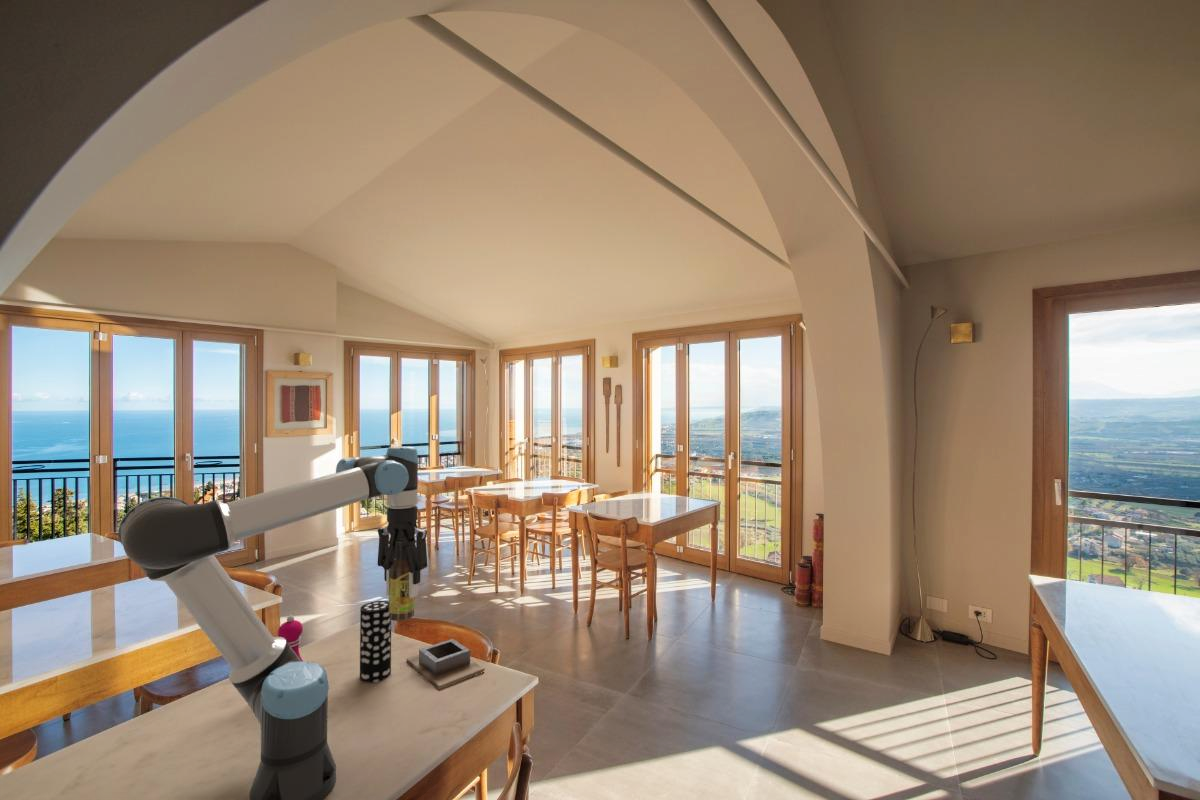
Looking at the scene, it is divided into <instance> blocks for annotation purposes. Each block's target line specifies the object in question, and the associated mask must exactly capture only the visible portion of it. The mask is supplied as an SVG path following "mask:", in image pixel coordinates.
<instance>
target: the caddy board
mask: <svg viewBox="0 0 1200 800" xmlns="http://www.w3.org/2000/svg"><path fill="white" fill-rule="evenodd" d="M406 663H407V664H409V665H410V666H411V667H412V668H413V669H414V670H416V671H417V672H418V673H419V674H421V676H423V677H424V678H425V679H426V680H427V681H429V683H431V684H432V685H433V686H435V687H436V688H437V689H438V690H442V689H444V688H447V687H450V686H452V685H454V684H457V683H460V682H462V681H465V680H467V678H468V679H470V678H472V677H471V676H473V677H475V676H477V675H476V674H478V675H480V674H479V673H481V672H483V671H484V672H485V668H484V667H482V666H481V665H480V664H478V663H477V662H476V661H474V660H472V659H471V658H470V664H468V665H466V666H463V667H460V668H457V669H455V670H452V671H449V672H447V673H444V674H441V675H438V676H436V677H435V676H434V675H433V674H432V673H431V672H429V671H428V670H427V669H426V668H424V667H423V666H422V665H421V664H420V663H419V653H418V654H415V655H413V656H409V657H406ZM484 672H483V673H484ZM481 674H482V673H481ZM474 675H475V676H474ZM469 677H470V678H469Z"/></svg>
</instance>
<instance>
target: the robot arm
mask: <svg viewBox="0 0 1200 800" xmlns="http://www.w3.org/2000/svg"><path fill="white" fill-rule="evenodd" d="M417 449H418V448H416V447H414V446H410V445H409V446H408V445H407V446H406V445H405V446H403V445H402V446H399V445H398V446H390V447H388V448H387V450H386V454H384V455H377V456H375V455H373V456H355V457H354V456H352V457H345V458H342V459H340V460H338V462H337V464H336V467H335V472H334V473H331V474H328V475H327V474H326V475H324V476H323V475H322V476H321V477H320V476H319V477H316V478H313V479H312V478H311V479H308V480H305V481H301V482H298V483H297V482H296V483H293V484H290V485H287V486H283V487H279V488H275V489H271V490H269V491H265V492H261V493H257V494H254V495H250V496H247V497H242V498H240V499H235V500H231V501H228V502H221V501H219V500H217V499H216V500H215V499H214V500H212V501H207V502H203V503H197V504H188V503H187V502H186V501H184V500H183V499H180V498H176V497H173V496H171V497H170V496H159V497H152V498H149V499H146V500H143V501H141V502H140V503H137V504H136V505H135V506H133V507H132V508H131V509H129V510H128V511H127V512H126V514H125V515H124V516H123V517H122V519H121V521H120V522H119V523H120V524H119V527H118V530H117V534H118V540H119V542H120V544H121V545H122V547H123V550H124V552H125V553H124V554H125V555H126V556H127V558H128V559H130V560H131V562H133V563H134V564H136V565H137V566H138V567H140V569H141V570H142V572H143V573H144V574H145V576H146V577H147V578H148V579H149V580H150V581H153V582H154V581H156V582H157V581H158V582H165V585H167V586H168V588H169V589H170V590H171V591H172V593H173V594H174V595H175V597H176V599H178V601H180V603H181V604H182V606H183V608H185V609H186V611H187V612H188V614H189V615H190V616H191V617H192V618H193V620H194V622H196V623H197V625H198V627H200V628H201V630H202V631H203V632H204V634H205V635H206V637H207V638H208V639H209V640H210V642H211V643H212V644H213V645H214V646H215V648H216V650H217V651H218V652H219V653H220V654H221V656H222V657H223V659H224V660H225V661H226V662H227V663H228V665H229V666H230V667H231V669H230V672H229V675H228V680H229V681H230V683H231V684H232V685H233V687H234V688H235V689H236V691H238V693H239V694H240V696H241V697H242V698H243V700H244V701H245V702H246V703H247V704H248V706H249V708H250V709H251V712H253V714H254V716H255V718H256V719H257V721H258V724H259V725H260V761H259V764H258V768H257V770H256V773H255V775H254V776H255V777H254V778H253V782H252V784H251V787H250V792H249V798H248V799H249V800H323V799H324V798H326V797H327V795H329V794H330V792H332V790H333V789H334V786H335V784H336V782H337V765H336V762H335V759H334V757H333V754H332V752H331V749H330V746H329V744H328V706H329V705H328V702H329V701H328V700H329V698H328V697H329V694H328V693H329V690H330V686H329V679H328V673H327V670H326V669H325V668H324V666H323V665H321V664H320V663H317V662H315V661H312V662H309V661H308V660H307V661H305V660H304V661H301V660H300V659H299V657H298V656H297V655H296V653H295V652H294V651H293V649H292V648H291V646H290V645H289V644H288V642H287V641H286V640H285V639H284V638H283V637H278V636H273V635H272V633H271V632H270V630H268V627H267V626H266V625H265V624H264V622H263V621H262V620H261V618H260V617H259V616H258V613H256V611H255V610H254V609H253V607H252V606H251V604H250V603H249V602H248V600H247V599H246V598H245V596H244V595H243V593H242V592H241V590H240V589H239V588H238V587H237V585H236V584H235V582H234V580H232V578H231V577H230V575H229V574H228V573H227V572H226V570H225V569H224V567H223V566H222V565H221V563H220V562H219V560H218V559H217V558H216V556H215V555H216V554H219V553H222V552H225V551H228V550H230V549H231V548H232V547H233V545H234V544H235V543H236V542H239V541H240V540H244V539H248V538H250V537H254V536H256V535H261V534H263V533H265V532H270V531H272V530H276V529H278V528H283V527H284V526H287V525H290V524H294V523H297V522H300V521H303V520H306V519H309V518H313V517H316V516H318V515H321V514H325V513H327V512H331V511H334V510H337V509H340V508H344V507H347V506H350V505H353V504H357V503H360V502H362V501H365V500H368V499H369V500H370V499H372V498H375V497H378V496H382V495H384V496H386V506H388V507H387V509H386V521H387V523H388V524H387V525H386V526H383V527H379V528H378V529H377V533H378V547H377V548H378V551H377V566H378V567H382V568H383V569H384V571H383V572H384V578H383V579H384V582H386V583H385V584H386V585H385V586H386V588H385V589H386V596H389V588H390V568H391V566H392V564H393V562H394V561H395V555H396V548H395V542H403V545H404V547H406V551H407V555H408V558H409V562H410V566H411V570H412V571H410V572H409V598H413V597H415V598H416V596H418V595H419V584H420V583H421V571H422V570H424V569H426V568H428V553H427V534H428V530H427V529H420V528H419V527H418V525H417V520H418V518H419V517H418V515H419V513H418V512H419V511H418V508H419V507H418V506H417V504H418V503H419V502H418V497H419V496H418V477H419V476H418V473H419V472H418V470H419V469H418V468H419V458H418V450H417ZM408 541H411V542H408Z"/></svg>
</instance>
